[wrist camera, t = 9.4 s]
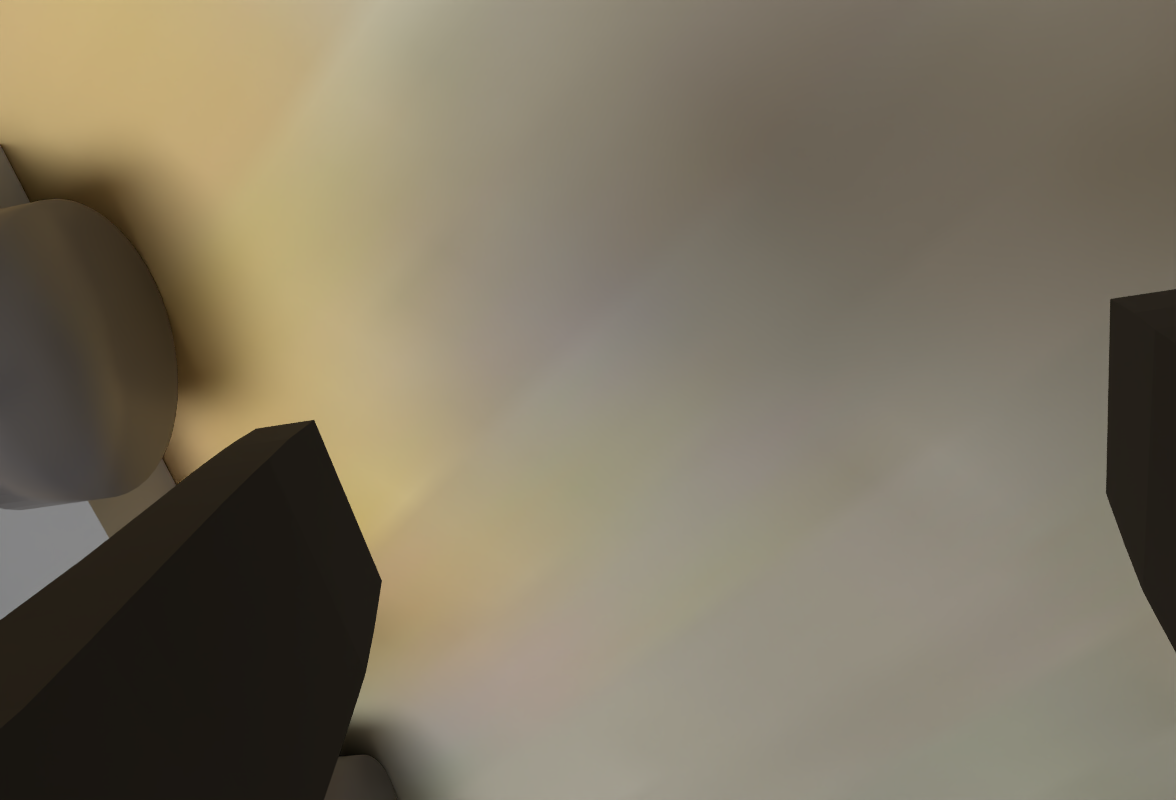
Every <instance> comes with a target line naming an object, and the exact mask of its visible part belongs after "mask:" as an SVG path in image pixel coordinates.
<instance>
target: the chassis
mask: <svg viewBox="0 0 1176 800" xmlns="http://www.w3.org/2000/svg"><path fill="white" fill-rule="evenodd" d="M177 400H178V372H177V360H176V352H175V345H174V340H173V335H172V330H171V327H170V323H169V319H168V316H167V312H166V310H165V307H164V304H163V301H162V298H161V296H160V293H159V291H158V289H157V286H156V284H155V282H154V280H153V278H152V276H151V274H150V272H149V270H148V268H147V266H146V265H145V263H144V262H143V260H142V258H141V257H140V255H139V254H138V252H137V251H136V249H135V248H134V247H133V245H132V244H131V243H130V241H129V240H128V239H127V238H126V237H125V236H124V235H123V233H122V232H121V231H120V230H119V229H118V228H117V227H116V226H115V225H114V224H112V223H111V222H110V221H109V220H108V219H107V218H105V217H104V216H103V215H101V214H100V213H98V212H97V211H95V210H94V209H92V208H90V207H87V206H85V205H83V204H81V203H78V202H75V201H71V200H66V199H47V200H41V201H36V202H31V203H30V201H29V199H28V198H27V196H26V194H25V192H24V190H23V188H22V186H21V184H20V182H19V180H18V178H17V176H16V174H15V172H14V170H13V168H12V167H11V165H10V163H9V161H8V159H7V157H6V155H5V153H4V151H3V149H2V147H1V145H0V620H1V619H2V618H4V617H5V616H6V615H8V614H9V613H10V612H12V611H13V610H14V609H16V608H17V607H18V606H20V605H21V604H22V603H24V602H25V601H26V600H28V599H29V598H31V597H32V596H33V595H35V594H36V593H37V592H39V591H40V590H41V589H43V588H44V587H45V586H47V585H48V584H49V583H51V582H52V581H54V580H55V579H56V578H58V577H59V576H60V575H62V574H63V573H64V572H66V571H67V570H68V569H70V568H71V567H72V566H74V565H75V564H77V563H78V562H79V561H81V560H82V559H83V558H84V557H86V556H87V555H88V554H90V553H91V552H92V551H93V550H95V549H96V548H97V547H99V546H100V545H101V544H102V543H104V542H105V541H106V540H107V539H109V538H110V537H111V536H113V535H114V534H115V533H116V532H118V531H119V530H120V529H121V528H123V527H124V526H125V525H127V524H128V523H129V522H130V521H132V520H133V519H134V518H135V517H137V516H138V515H139V514H140V513H142V512H143V511H144V510H146V509H147V508H148V507H149V506H151V505H152V504H153V503H154V502H156V501H157V500H158V499H160V498H161V497H162V496H163V495H165V494H166V493H167V492H168V491H170V490H171V489H172V488H174V487H175V486H176V484H175V482H174V480H173V478H172V476H171V475H170V473H169V471H168V469H167V467H166V465H165V463H164V461H163V459H162V458H163V455H164V453H165V451H166V449H167V446H168V444H169V441H170V437H171V434H172V431H173V426H174V421H175V417H176V409H177ZM324 800H397V797H396V794H395V791H394V788H393V786H392V783H391V781H390V779H389V777H388V775H387V773H386V771H385V770H384V768H383V767H382V765H381V764H380V763H379V762H378V761H377V760H376V759H374V758H373V757H371V756H368V755H353V756H341V757H338V760H337V763H336V766H335V769H334V772H333V775H332V778H331V781H330V783H329V786H328V789H327V792H326V795H325V798H324Z"/></svg>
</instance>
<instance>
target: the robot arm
mask: <svg viewBox="0 0 1176 800" xmlns="http://www.w3.org/2000/svg"><path fill="white" fill-rule="evenodd" d="M1106 494H1107V497H1108V500H1109V503H1110V505H1111V508H1112V511H1113V514H1114V516H1115V519H1116V522H1117V525H1118V527H1119V530H1120V533H1121V536H1122V538H1123V541H1124V544H1125V547H1126V549H1127V552H1128V554H1129V557H1130V559H1131V562H1132V565H1133V567H1134V570H1135V572H1136V575H1137V577H1138V580H1139V582H1140V585H1141V588H1142V590H1143V592H1144V594H1145V596H1146V598H1147V600H1148V602H1149V604H1150V605H1151V607H1152V609H1153V611H1154V613H1155V615H1156V617H1157V619H1158V620H1159V622H1160V624H1161V626H1162V628H1163V630H1164V631H1165V633H1166V635H1167V637H1168V639H1169V641H1170V642H1171V644H1172V646H1173V648H1174V650H1175V652H1176V289H1174V290H1168V291H1161V292H1154V293H1148V294H1141V295H1135V296H1128V297H1121V298H1115V299H1111V300H1110V345H1109V389H1108V433H1107V478H1106ZM381 582H382V580H381V578H380V576H379V573H378V571H377V568H376V566H375V564H374V561H373V559H372V557H371V554H370V552H369V549H368V547H367V545H366V542H365V540H364V538H363V535H362V533H361V530H360V528H359V526H358V523H357V521H356V519H355V516H354V514H353V511H352V509H351V507H350V504H349V502H348V499H347V497H346V495H345V492H344V490H343V488H342V485H341V483H340V480H339V478H338V476H337V473H336V471H335V469H334V466H333V464H332V461H331V459H330V457H329V454H328V452H327V450H326V447H325V445H324V442H323V440H322V438H321V435H320V433H319V430H318V428H317V426H316V423H315V421H314V420H311V421H304V422H298V423H291V424H284V425H278V426H271V427H265V428H258V429H255V430H253V431H252V432H250V433H248V434H247V435H245V436H243V437H242V438H240V439H238V440H237V441H235V442H234V443H232V444H231V445H229V446H228V447H227V448H225V449H224V450H222V451H221V452H220V453H218V454H217V455H215V456H214V457H213V458H211V459H210V460H209V461H207V462H206V463H205V464H203V465H202V466H201V467H199V468H198V469H197V470H195V471H194V472H193V473H192V474H190V475H189V476H188V477H186V478H185V479H184V480H182V481H181V482H180V483H179V484H177V485H176V486H175V487H174V488H172V489H171V490H170V491H168V492H167V493H166V494H165V495H163V496H162V497H161V498H160V499H158V500H157V501H156V502H154V503H153V504H152V505H151V506H149V507H148V508H147V509H146V510H144V511H143V512H142V513H140V514H139V515H138V516H137V517H135V518H134V519H133V520H132V521H130V522H129V523H128V524H127V525H125V526H124V527H123V528H121V529H120V530H119V531H118V532H116V533H115V534H114V535H113V536H111V537H110V538H109V539H107V540H106V541H105V542H104V543H102V544H101V545H100V546H99V547H97V548H96V549H95V550H93V551H92V552H91V553H90V554H88V555H87V556H86V557H84V558H83V559H82V560H81V561H79V562H78V563H77V564H75V565H74V566H72V567H71V568H70V569H68V570H67V571H66V572H64V573H63V574H62V575H60V576H59V577H58V578H56V579H55V580H54V581H52V582H51V583H49V584H48V585H47V586H45V587H44V588H43V589H41V590H40V591H39V592H37V593H36V594H35V595H33V596H32V597H31V598H29V599H28V600H26V601H25V602H24V603H22V604H21V605H20V606H18V607H17V608H16V609H14V610H13V611H12V612H10V613H9V614H8V615H6V616H5V617H4V618H2V619H1V620H0V800H324V798H325V795H326V792H327V789H328V786H329V783H330V781H331V778H332V775H333V772H334V769H335V766H336V763H337V760H338V757H339V754H340V751H341V748H342V745H343V742H344V739H345V736H346V733H347V730H348V727H349V723H350V720H351V717H352V714H353V711H354V708H355V705H356V702H357V699H358V696H359V693H360V689H361V686H362V683H363V680H364V676H365V673H366V668H367V663H368V658H369V653H370V648H371V643H372V638H373V633H374V627H375V621H376V614H377V608H378V602H379V595H380V589H381Z"/></svg>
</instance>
